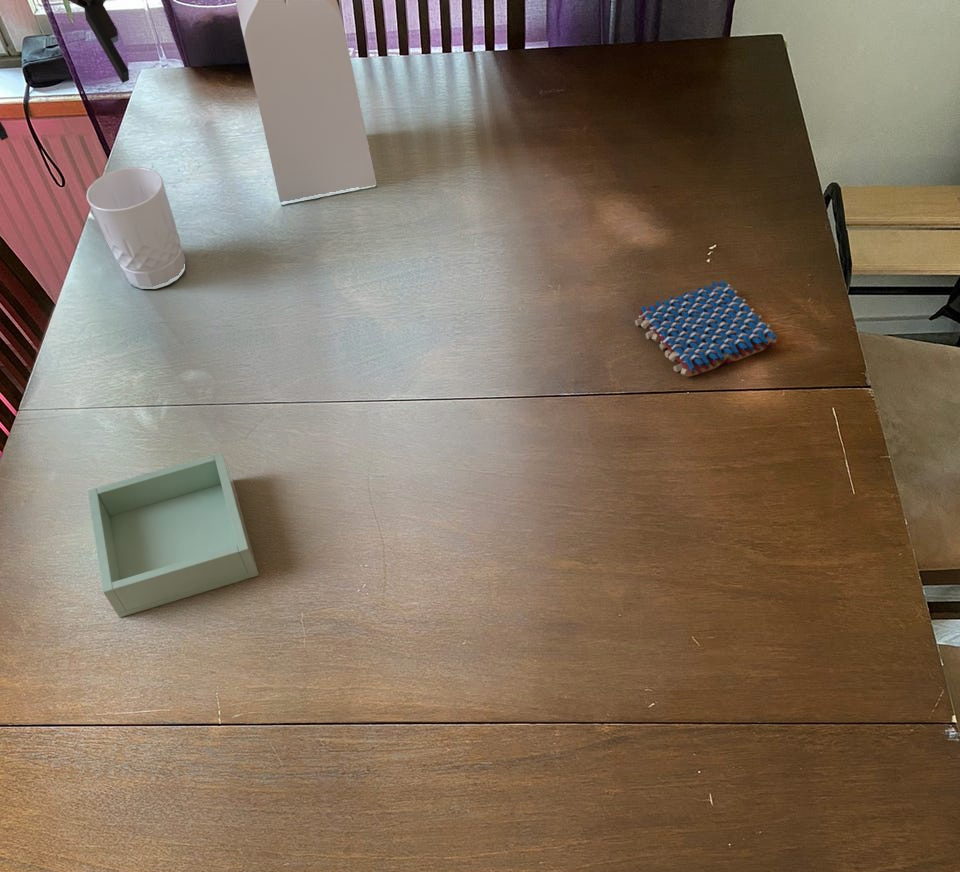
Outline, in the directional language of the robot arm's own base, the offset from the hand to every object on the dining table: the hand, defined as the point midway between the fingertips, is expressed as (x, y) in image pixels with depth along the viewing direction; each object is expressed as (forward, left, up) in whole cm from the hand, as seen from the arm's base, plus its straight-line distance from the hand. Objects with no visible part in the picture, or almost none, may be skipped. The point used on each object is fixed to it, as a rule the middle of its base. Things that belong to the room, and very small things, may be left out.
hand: (65, 105), depth 101 cm
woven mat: (+53, -40, -17) cm, 68 cm away
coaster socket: (-1, -47, -16) cm, 50 cm away
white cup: (+3, -6, -17) cm, 18 cm away
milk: (+25, +6, -17) cm, 31 cm away
